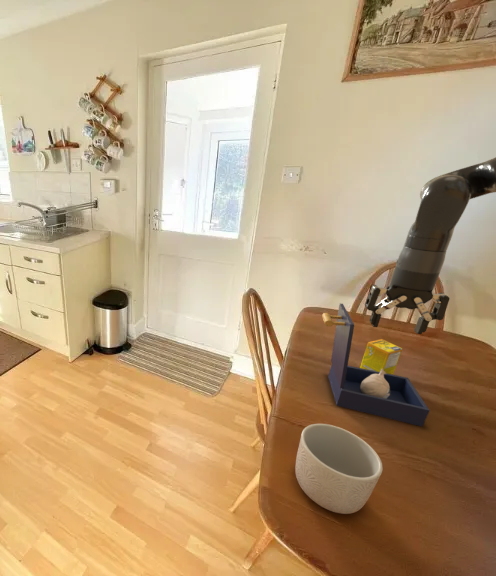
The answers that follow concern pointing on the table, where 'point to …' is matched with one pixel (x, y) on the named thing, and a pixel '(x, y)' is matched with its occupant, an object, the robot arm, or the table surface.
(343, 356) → the cover
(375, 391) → the garlic bulb
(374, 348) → the supplement box
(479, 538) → the table surface
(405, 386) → the hinged blue tray
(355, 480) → the planter
